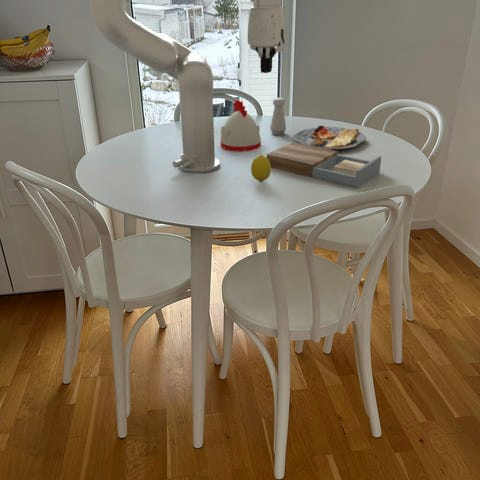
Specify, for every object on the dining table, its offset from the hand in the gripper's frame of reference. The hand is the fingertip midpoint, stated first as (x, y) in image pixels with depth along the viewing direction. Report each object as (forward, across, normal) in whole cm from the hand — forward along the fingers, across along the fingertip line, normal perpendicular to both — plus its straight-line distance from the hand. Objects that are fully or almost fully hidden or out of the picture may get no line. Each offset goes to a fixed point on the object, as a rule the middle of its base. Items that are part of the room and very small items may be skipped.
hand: (266, 72), depth 143 cm
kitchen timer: (+27, -17, +10) cm, 34 cm away
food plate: (+28, +6, +31) cm, 42 cm away
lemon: (+27, +9, -15) cm, 32 cm away
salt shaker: (+27, -14, +29) cm, 42 cm away
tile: (+24, +27, +4) cm, 36 cm away
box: (+27, +26, +4) cm, 38 cm away
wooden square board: (+27, +11, +4) cm, 29 cm away
